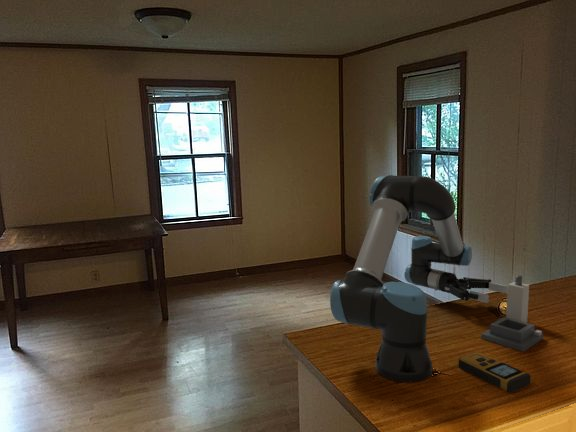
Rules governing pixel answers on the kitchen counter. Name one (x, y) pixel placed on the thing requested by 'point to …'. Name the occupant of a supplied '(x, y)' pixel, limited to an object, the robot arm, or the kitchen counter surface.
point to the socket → (513, 334)
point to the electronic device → (494, 372)
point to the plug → (517, 300)
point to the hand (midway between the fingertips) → (498, 294)
